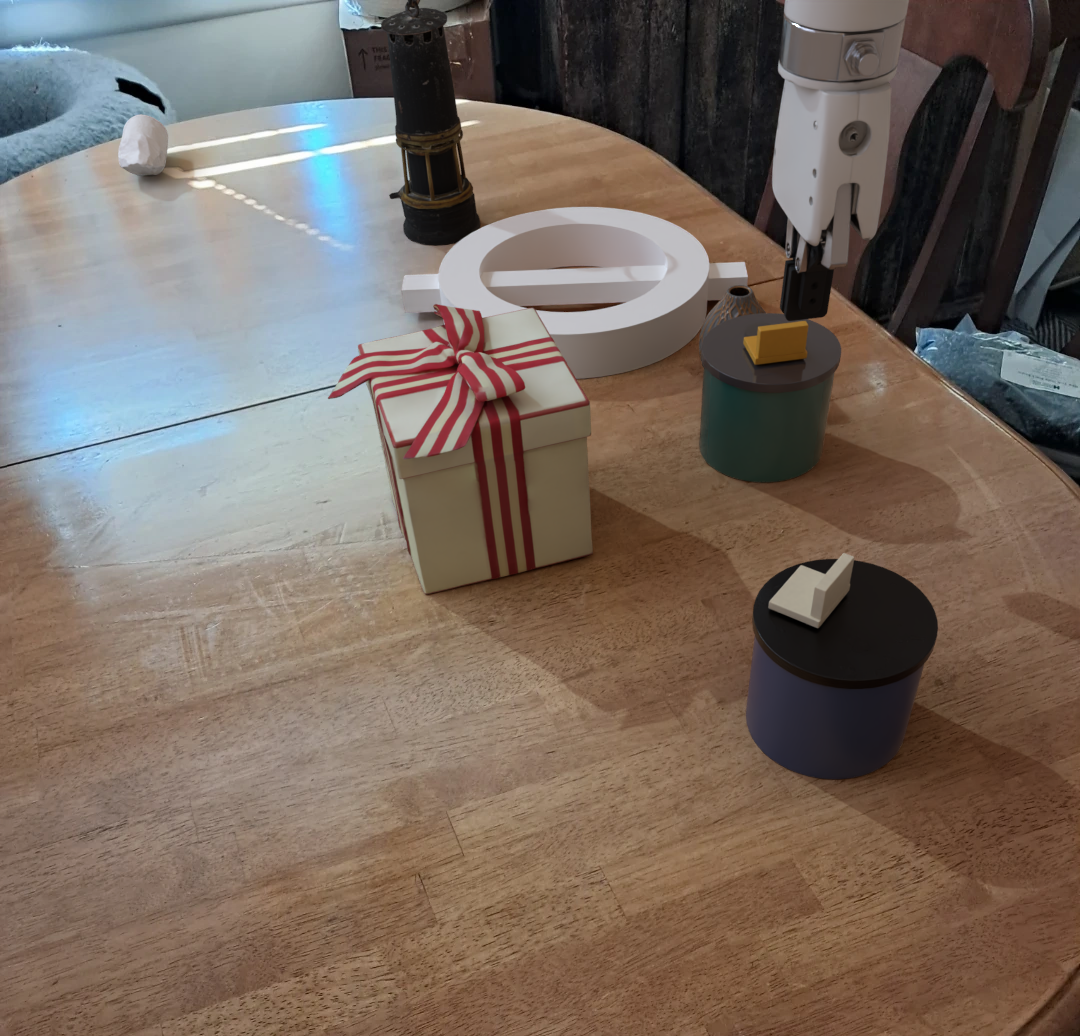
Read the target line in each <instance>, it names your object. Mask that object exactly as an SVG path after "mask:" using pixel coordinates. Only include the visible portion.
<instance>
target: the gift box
mask: <svg viewBox="0 0 1080 1036" xmlns="http://www.w3.org/2000/svg"><path fill="white" fill-rule="evenodd" d="M433 307H434V309H435V310H436V311H437V312H436V311H434V312H433V313H434V315H437V316H439V318H442V320H444V321H443V324H442V325H439V326H436V327H435V326H434V327H432V328H427V329H422V330H419V331H414V332H411V333H406V334H400V335H396V336H390V337H386V338H382V339H381V338H379V339H376V340H372V341H367V342H364V343H359V344H358V345H357V350H358V355H357V356H355V357H353V358H352V360H351V361H350V362H349V364H348V365H347V366H346V367H345V370H344V371H343V372H342V374H341V377H340V378H339V380H337V381H338V382H337V383H336V385H335V386H334V389H332V391H331V393H330V394H329V395H328V397H327V399H328V400H332V399H337V398H340V397H343V396H344V395H346V394H347V393H349V392H351V391H353V390H354V389H356V388H358V387H359V386H362V385H363V384H364V383H365V384H366V387H367V389H368V393H369V395H370V398H371V401H372V405H373V410H374V416H375V421H376V426H377V430H378V435H379V440H380V445H381V451H382V454H383V460H384V464H385V469H386V475H387V479H388V484H389V490H390V496H391V499H392V503H393V506H394V509H395V512H396V515H397V520H398V521H397V522H398V528H399V530H400V532H401V534H402V537H403V538H404V541H405V542H406V548H407V549H406V550H407V552H408V555H409V556H410V557H411V559H412V563H413V567H414V569H415V572H416V576H417V578H418V581H419V584H420V587H421V588H422V592H423V594H424V595H431V594H434V593H439V592H444V591H447V590H452V589H455V588H459V587H464V586H468V585H472V584H476V583H477V584H478V583H481V582H485V581H489V580H495V579H499V578H503V577H509V576H511V575H515V574H521V573H523V572H527V571H531V570H535V569H539V568H543V567H547V566H551V565H555V564H559V563H563V562H568V561H571V560H576V559H580V558H583V557H587V556H591V555H593V553H594V551H593V550H594V548H593V537H592V536H593V535H592V517H591V516H592V515H591V514H592V513H591V495H590V475H589V474H590V473H589V449H588V437H591V436H592V417H591V416H592V415H591V413H592V412H591V401H590V400H589V398H588V396H587V394H586V393H585V391H584V390H583V388H582V386H581V384H580V383H579V381H578V379H576V378H575V376H574V374H573V373H572V371H571V369H570V368H569V366H568V365H567V362H566V360H565V359H564V357H563V356H562V354H561V352H560V350H559V349H558V347H557V345H556V344H555V342H554V340H553V339H552V337H551V336H550V334H549V332H548V330H547V329H546V327H545V325H544V324H543V322H542V320H541V318H540V317H539V315H538V313H537V312H536V310H537V309H536V308H534V307H528V308H527V307H526V308H527V309H523V310H518V311H513V312H508V313H504V314H499V315H494V316H489V317H484V318H482V316H481V313H480V311H476V310H470V309H463V308H455V307H449V306H443V305H438V304H435V305H433ZM444 323H445V325H444Z"/></svg>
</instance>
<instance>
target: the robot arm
mask: <svg viewBox="0 0 1080 1036" xmlns="http://www.w3.org/2000/svg"><path fill="white" fill-rule="evenodd" d="M909 2H910V0H784V7H783V16H782V17H783V18H782V26H781V36H780V46H779V55H778V64H777V65H778V66H777V72H778V74H779V75H780V76H781V78H782V79H784V82H783V89H782V93H781V100H780V106H779V113H778V119H777V125H776V133H775V140H774V149H773V160H772V173H771V174H772V175H771V177H772V178H771V185H772V187H771V188H772V191H773V195H774V198H775V199H776V201H777V203H778V205H779V206H780V208H781V209H782V211H783V212H784V214H785V215H786V217H787V221H786V223H787V224H786V236H785V256H786V258H787V259H788V260H785V261H784V269H783V279H782V286H781V295H780V300H779V301H780V302H779V309H780V311H781V314H784V316H785V318H786V319H787V320H788V321H795V320H804V319H808V320H811V319H819V318H824V317H826V316H827V314H828V312H829V305H830V298H831V292H832V287H833V286H832V285H833V280H834V279H833V278H834V273H835V270H836V269H837V268H844V267H845V268H846V267H847V265H848V260H849V250H850V249H849V247H850V234H851V227H852V228H853V230H854V231H855V232H856V233H857V234H858V236H859V237H860V238H861V239H862V240H864V241H870V240H872V239H873V238H874V237H875V236H876V234H877V231H878V227H879V220H880V213H881V205H882V199H883V192H884V187H885V186H884V184H885V176H886V169H887V160H888V152H889V151H888V150H889V142H890V141H889V140H890V131H891V129H890V128H891V112H892V111H891V109H892V108H891V107H892V86H891V83H890V81H892V80H893V79H894V78H895V77H896V75H897V72H898V71H897V70H898V64H899V59H900V54H901V48H902V43H903V36H904V30H905V25H906V19H907V14H908V7H909Z"/></svg>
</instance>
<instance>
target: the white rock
mask: <svg viewBox="0 0 1080 1036" xmlns="http://www.w3.org/2000/svg"><path fill="white" fill-rule="evenodd" d="M168 147H169V133H168V131H167V128H166V127H165V126H164V124H163V123H162V122H161V121H159V120H158V119H156V118H155V117H153V116H150V115H147V114H136V115H134V116H131V117H130V118H129V119H128V120H127V121H126V122H125V124H124V126H123V130H122V136H121V138H120V142H119V146H118V152H117V157H118V164H119V167H120V168H122V169H124V170H125V171H126V172H128V173H131V174H133V175H136V176H157V175H159V174H161V173H162V172H163V171H164V169H165V168H166V164H167V157H168V149H169V148H168Z"/></svg>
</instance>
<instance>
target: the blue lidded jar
mask: <svg viewBox="0 0 1080 1036" xmlns="http://www.w3.org/2000/svg"><path fill="white" fill-rule="evenodd" d="M838 559H839V558H822V559H821V558H820V559H814V560H809V561H805V562H804V561H803V562H801V563H798V564H794V565H791V566H789V567H786V568H785V569H782V570H781V571H779V572H777V573H775V575H773V576H772V577H770V578H769V579H768V580H767V581H766V582H765V583H764V584H763V585H762V587H761V588H760V589H759V591H758V592H757V595H756V597H755V600H754V602H753V606H752V607H753V608H752V618H751V623H752V624H751V625H752V631H753V634H754V639H753V646H752V647H753V648H752V655H751V664H750V673H749V674H750V675H749V681H748V690H747V699H746V708H745V722H746V726H747V730H748V733H749V734H750V736H751V738H752V740H753V741H754V743H755V745H756V746H757V747H758V748H759V749H760V750H761V752H763V754H764V755H766V756H767V757H768V758H769V759H771V760H772V761H773V762H775V763H776V764H778V765H780V766H781V767H783V768H785V769H787V770H789V771H792V772H794V773H796V774H800V775H803V776H806V777H810V778H815V779H823V780H846V779H853V778H857V777H861V776H865V775H868V774H871V773H873V772H875V771H878V770H880V769H882V767H884V766H885V765H887V764H888V763H889V762H890V761H891V760H893V759H894V757H895V756H897V754H898V753H899V751H900V749H901V747H902V746H903V743H904V741H905V737H906V733H907V731H908V725H909V722H910V719H911V715H912V711H913V707H914V703H915V701H916V696H917V693H918V689H919V685H920V682H921V677H922V674H923V671H924V666H925V664H926V662H927V661H928V660H929V658H930V657H931V655H932V653H933V651H934V648H935V645H936V642H937V639H938V632H939V623H938V622H939V621H938V616H937V613H936V610H935V608H934V606H933V604H932V603H931V601H930V600H929V598H928V597H927V595H926V594H925V593H924V592H923V591H922V590H921V589H920V588H919V587H918V586H917V585H915V584H914V583H913V582H912V581H910V580H909V579H907V578H906V577H904V576H903V575H900V573H899V574H898V573H897V572H896V571H893V570H891V569H889V568H886V567H883V566H881V565H877V564H875V563H870V562H867V561H862V560H856V559H854V563H853V568H852V573H851V578H850V589H849V591H848V593H847V594H846V595H845V596H844V598H843V599H842V600H841V601H840V602H839V604H838V605H837V606H836V607H835V609H834V610H833V611H832V612H831V614H830V615H829V616H828V617H827V618H826V620H825V621H824V622H823V623H822V625H821V626H820V627H819V628H816V627H813V626H811V625H808V624H806V623H803V622H801V621H799V620H796V619H794V618H791V617H789V616H786V615H784V614H781V613H779V612H777V611H774V610H772V609H769V608H768V607H769V601H770V600H771V599H772V598H773V597H774V595H775V594H776V593H777V592H778V591H779V590H780V589H781V587H782V586H783V585H784V584H785V583H786V582H787V581H788V579H789V578H790V577H791V576H792V575H793V574H794V572H795V571H796V570H797V569H798V568H799V567H800V566H801V565H802V566H805V567H808V568H810V569H813V570H815V571H818V572H821V573H823V574H826V573H827V572H828V571H829V569H830V568H831V567H832V566H833V565H834V563H835V562H836V561H837V560H838Z"/></svg>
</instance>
